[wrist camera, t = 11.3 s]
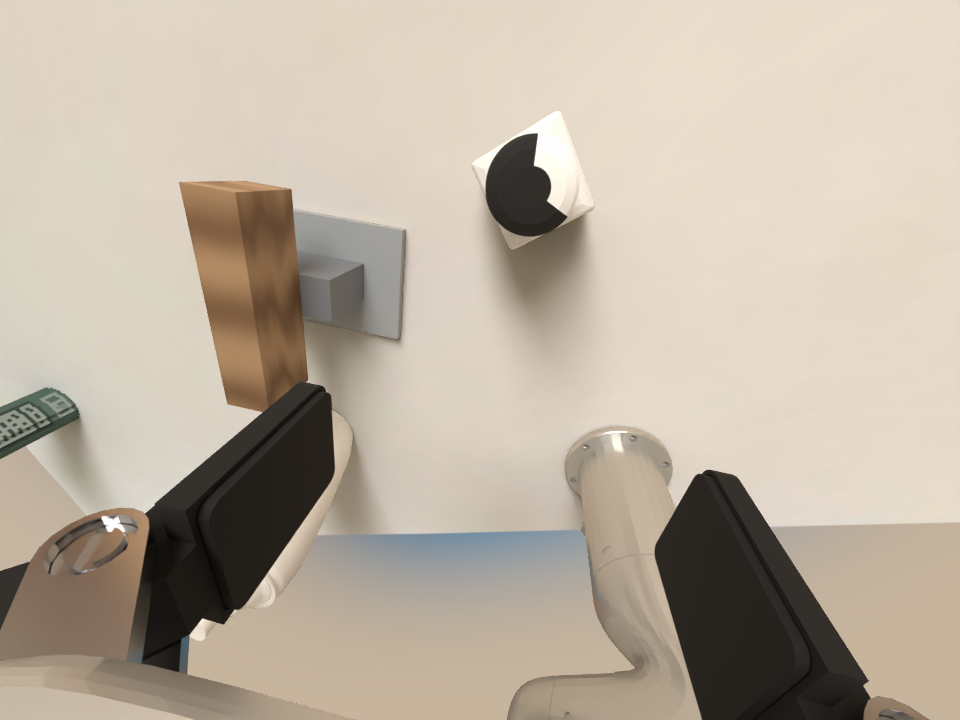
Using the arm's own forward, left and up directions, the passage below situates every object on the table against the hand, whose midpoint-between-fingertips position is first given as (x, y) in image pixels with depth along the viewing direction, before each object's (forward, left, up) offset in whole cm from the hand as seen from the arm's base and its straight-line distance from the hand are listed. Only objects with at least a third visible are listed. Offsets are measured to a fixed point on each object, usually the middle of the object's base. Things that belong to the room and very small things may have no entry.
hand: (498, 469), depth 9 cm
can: (-36, +68, -31) cm, 83 cm away
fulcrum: (-6, +22, -30) cm, 38 cm away
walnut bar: (-6, +22, -22) cm, 32 cm away
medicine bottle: (+6, +1, -31) cm, 31 cm away
